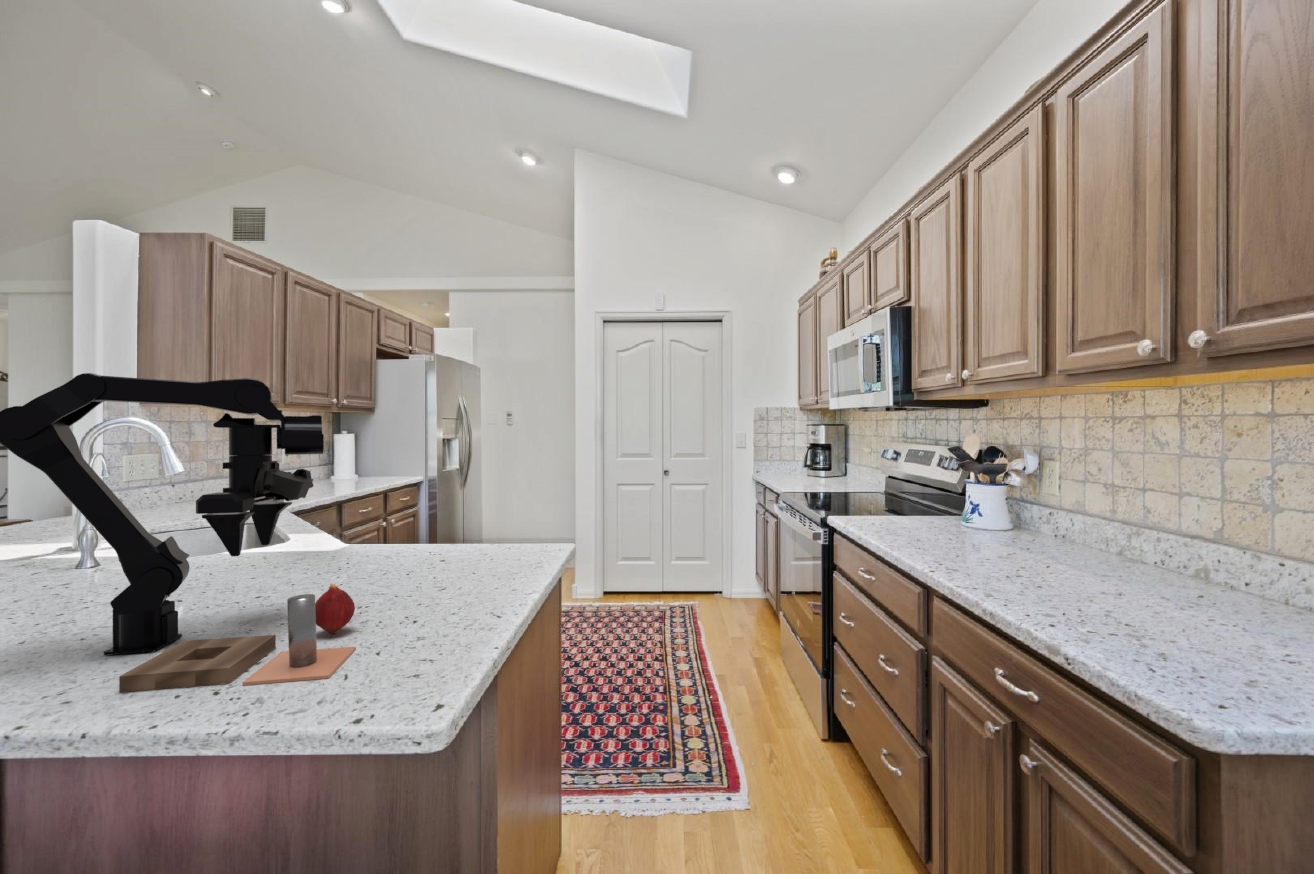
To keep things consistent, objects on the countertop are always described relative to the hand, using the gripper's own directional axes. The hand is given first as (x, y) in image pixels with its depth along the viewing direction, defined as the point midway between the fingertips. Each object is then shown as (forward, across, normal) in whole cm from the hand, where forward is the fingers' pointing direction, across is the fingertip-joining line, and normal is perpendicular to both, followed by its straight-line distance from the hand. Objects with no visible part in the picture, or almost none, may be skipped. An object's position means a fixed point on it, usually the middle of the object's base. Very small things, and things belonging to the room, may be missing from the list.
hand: (251, 550), depth 90 cm
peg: (+13, -18, -15) cm, 27 cm away
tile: (+13, -18, -15) cm, 27 cm away
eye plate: (+13, -16, -2) cm, 21 cm away
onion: (+13, -5, -14) cm, 20 cm away
